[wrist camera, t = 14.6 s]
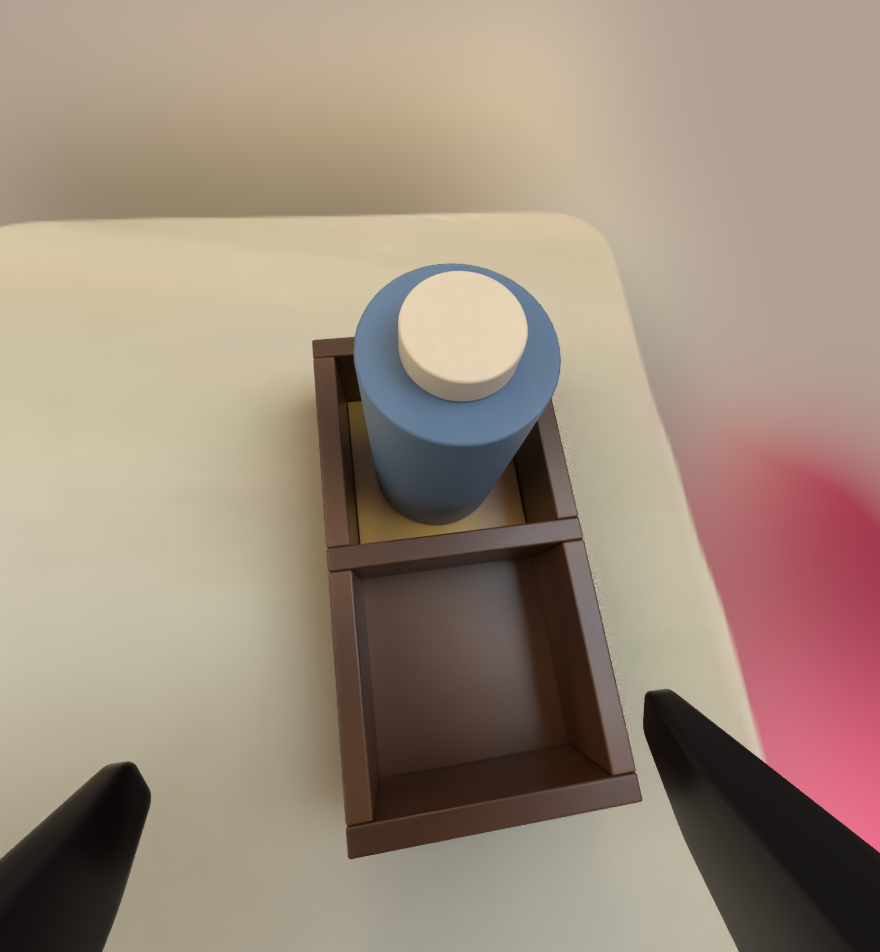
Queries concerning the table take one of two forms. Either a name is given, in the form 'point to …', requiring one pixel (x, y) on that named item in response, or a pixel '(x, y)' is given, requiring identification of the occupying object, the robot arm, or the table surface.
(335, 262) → the table surface
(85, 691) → the table surface
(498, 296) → the bottle
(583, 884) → the table surface
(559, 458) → the organizer
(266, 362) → the table surface
